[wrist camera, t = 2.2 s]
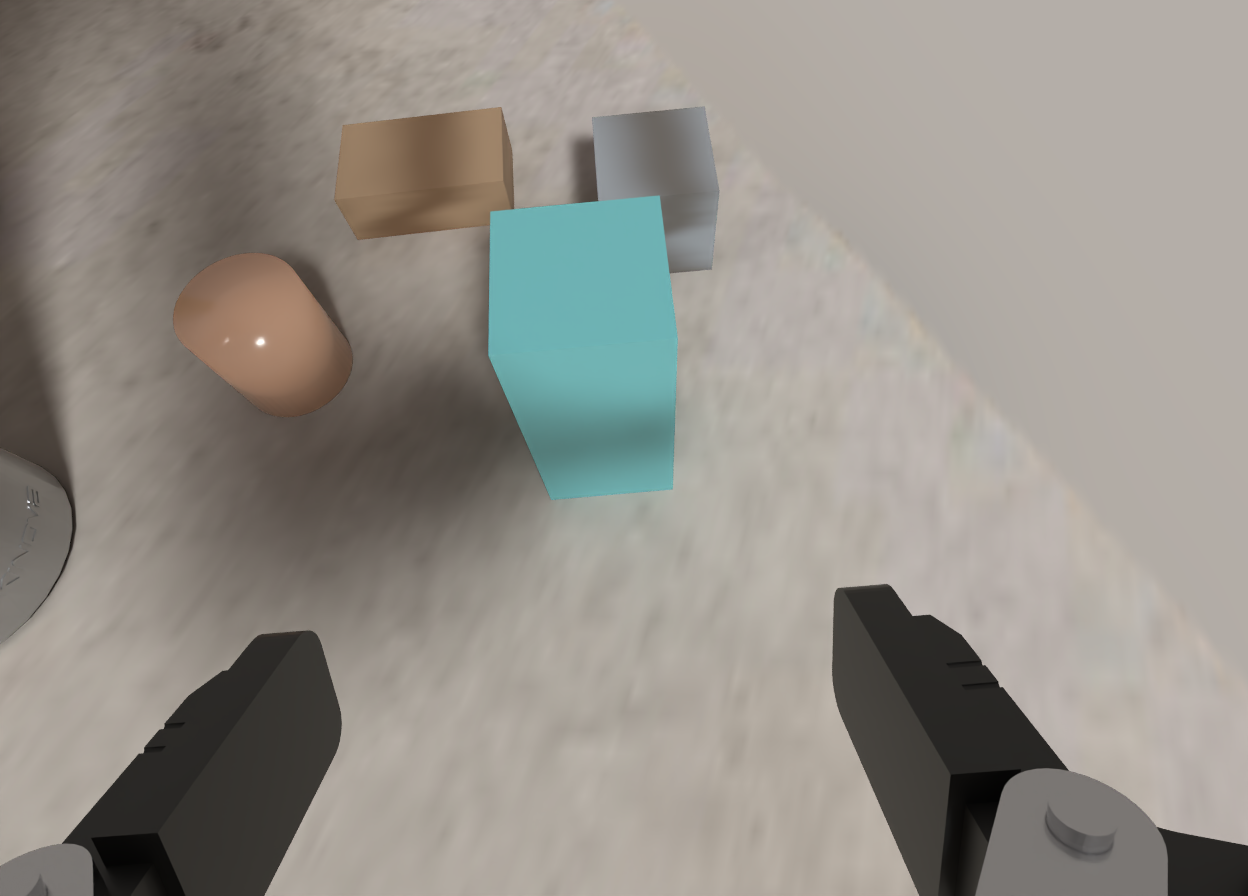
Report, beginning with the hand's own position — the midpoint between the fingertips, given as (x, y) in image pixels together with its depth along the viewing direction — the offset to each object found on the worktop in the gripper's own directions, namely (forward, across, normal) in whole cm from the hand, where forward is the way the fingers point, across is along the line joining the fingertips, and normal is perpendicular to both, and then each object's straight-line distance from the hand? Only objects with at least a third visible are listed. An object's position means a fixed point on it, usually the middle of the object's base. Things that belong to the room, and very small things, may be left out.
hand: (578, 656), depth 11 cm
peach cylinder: (+22, +14, -1) cm, 26 cm away
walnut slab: (+29, +8, -7) cm, 31 cm away
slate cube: (+26, -3, -5) cm, 27 cm away
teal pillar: (+18, 0, +3) cm, 19 cm away
